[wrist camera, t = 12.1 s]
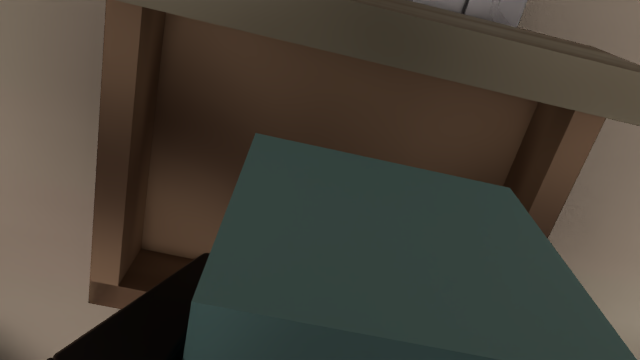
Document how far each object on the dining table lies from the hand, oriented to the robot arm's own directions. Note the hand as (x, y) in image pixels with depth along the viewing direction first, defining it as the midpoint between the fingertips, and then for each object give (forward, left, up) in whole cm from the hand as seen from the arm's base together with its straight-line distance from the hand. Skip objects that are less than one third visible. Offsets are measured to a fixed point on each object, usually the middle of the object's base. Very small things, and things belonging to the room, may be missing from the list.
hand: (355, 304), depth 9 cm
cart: (+1, 0, -11) cm, 11 cm away
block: (0, 0, -1) cm, 1 cm away
